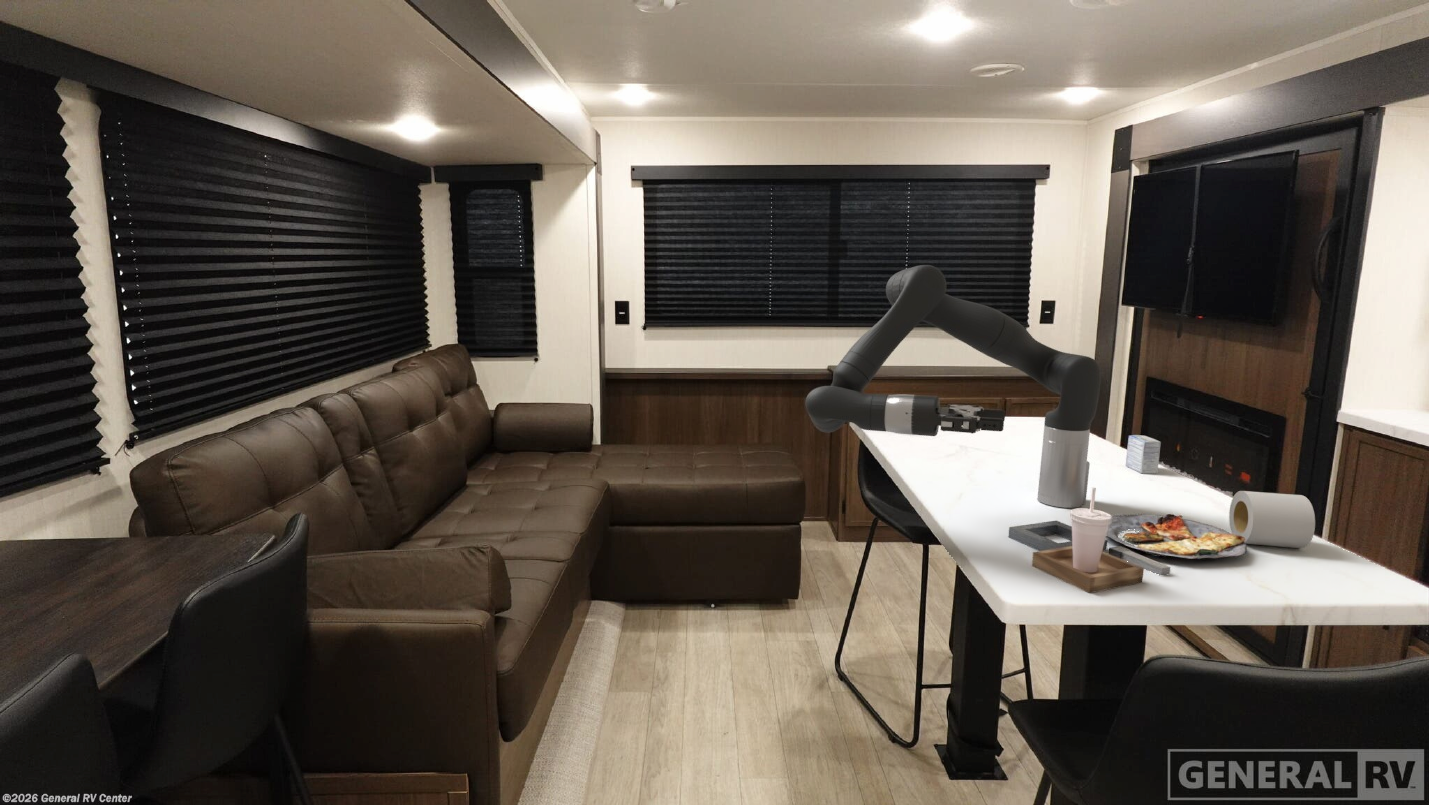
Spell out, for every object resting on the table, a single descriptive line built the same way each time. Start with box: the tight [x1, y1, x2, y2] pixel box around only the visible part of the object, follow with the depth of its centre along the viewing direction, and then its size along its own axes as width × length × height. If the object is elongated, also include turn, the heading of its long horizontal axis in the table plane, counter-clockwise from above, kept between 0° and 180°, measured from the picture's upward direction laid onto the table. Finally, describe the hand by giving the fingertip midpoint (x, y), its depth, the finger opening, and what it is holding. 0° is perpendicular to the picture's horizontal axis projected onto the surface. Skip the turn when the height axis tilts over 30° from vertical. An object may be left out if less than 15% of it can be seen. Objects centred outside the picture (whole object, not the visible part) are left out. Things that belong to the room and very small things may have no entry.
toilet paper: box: [1228, 490, 1316, 549], centre depth 145 cm, size 10×10×10 cm
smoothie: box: [1069, 487, 1113, 573], centre depth 128 cm, size 6×6×14 cm
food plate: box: [1106, 513, 1248, 560], centre depth 145 cm, size 25×23×4 cm
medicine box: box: [1125, 434, 1162, 475], centre depth 200 cm, size 8×4×9 cm, turn 179°
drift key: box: [1107, 545, 1171, 576], centre depth 134 cm, size 10×3×2 cm, turn 21°
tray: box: [1031, 546, 1145, 594], centre depth 129 cm, size 12×12×2 cm
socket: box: [1007, 520, 1108, 552], centre depth 144 cm, size 12×12×2 cm
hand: (1004, 420), depth 137 cm, fingers open, 8 cm apart
